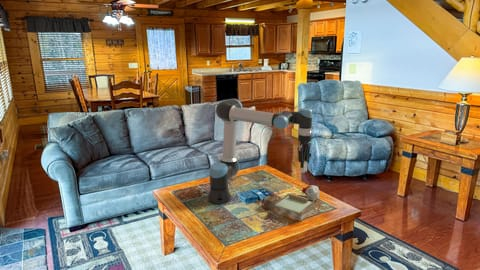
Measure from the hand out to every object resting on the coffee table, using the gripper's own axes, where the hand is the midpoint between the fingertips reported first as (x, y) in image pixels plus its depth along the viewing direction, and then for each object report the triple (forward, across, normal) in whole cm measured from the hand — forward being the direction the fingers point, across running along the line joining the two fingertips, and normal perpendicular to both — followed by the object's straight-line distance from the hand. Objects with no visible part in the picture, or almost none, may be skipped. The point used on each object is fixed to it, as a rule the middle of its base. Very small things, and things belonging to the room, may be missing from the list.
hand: (303, 171), depth 198 cm
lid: (+17, -12, 0) cm, 21 cm away
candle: (+23, +13, 0) cm, 26 cm away
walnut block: (+23, -14, +15) cm, 31 cm away
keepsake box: (+22, -10, 0) cm, 25 cm away
